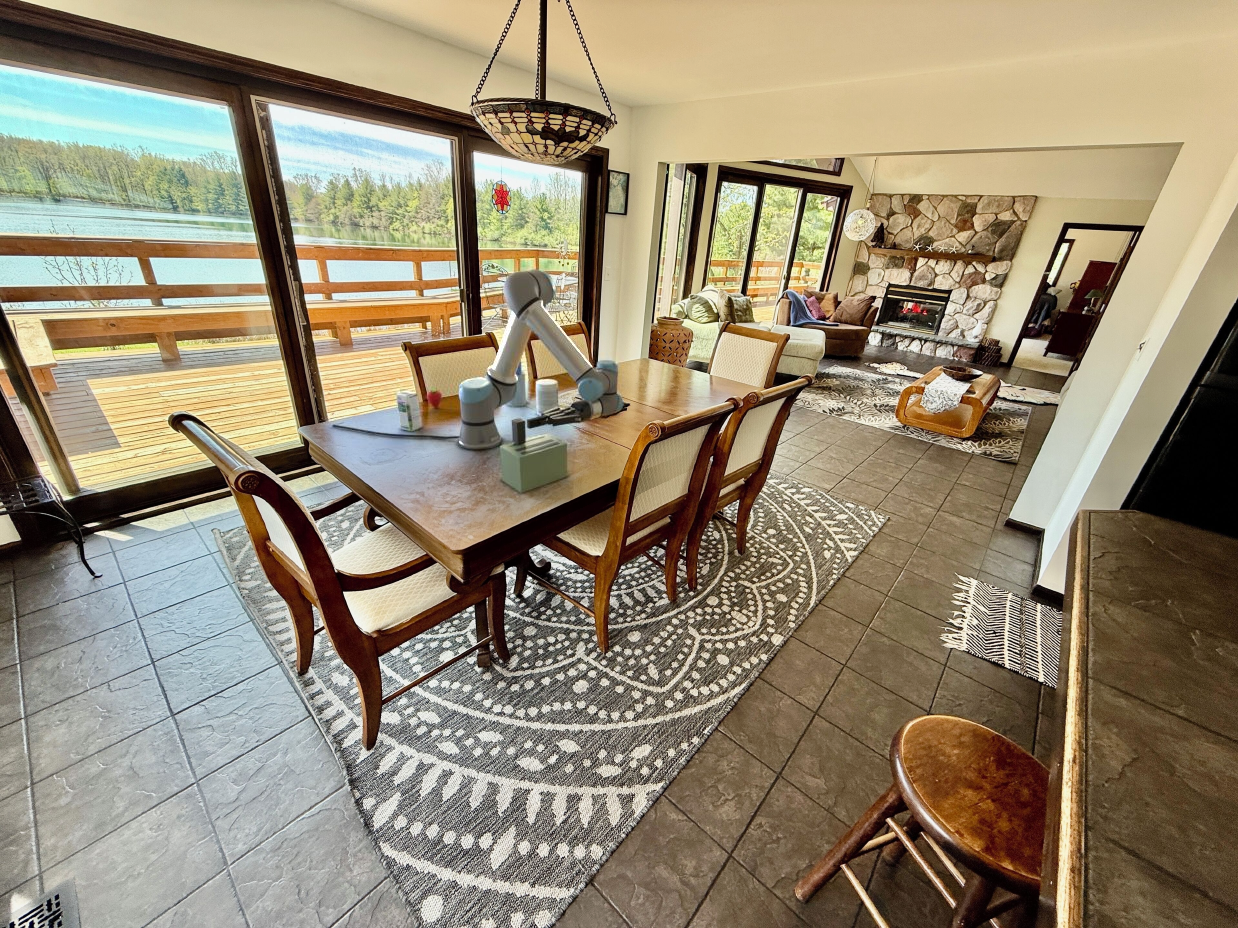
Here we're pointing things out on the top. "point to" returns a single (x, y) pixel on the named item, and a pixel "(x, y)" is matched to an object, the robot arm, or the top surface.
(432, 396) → the strawberry
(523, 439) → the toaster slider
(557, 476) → the toaster
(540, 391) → the supplement tub
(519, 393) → the spray bottle
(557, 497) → the top surface
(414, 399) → the syrup box
